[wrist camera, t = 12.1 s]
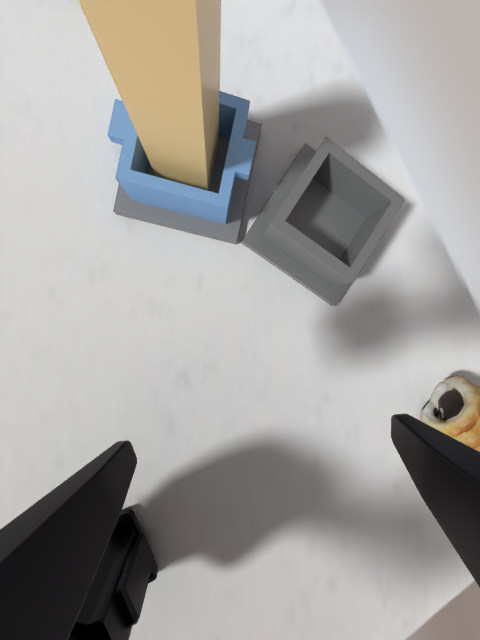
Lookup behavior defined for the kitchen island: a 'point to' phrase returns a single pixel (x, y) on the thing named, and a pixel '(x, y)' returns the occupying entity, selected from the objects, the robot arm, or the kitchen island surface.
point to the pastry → (455, 410)
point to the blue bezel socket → (182, 200)
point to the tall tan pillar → (166, 78)
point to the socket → (324, 220)
